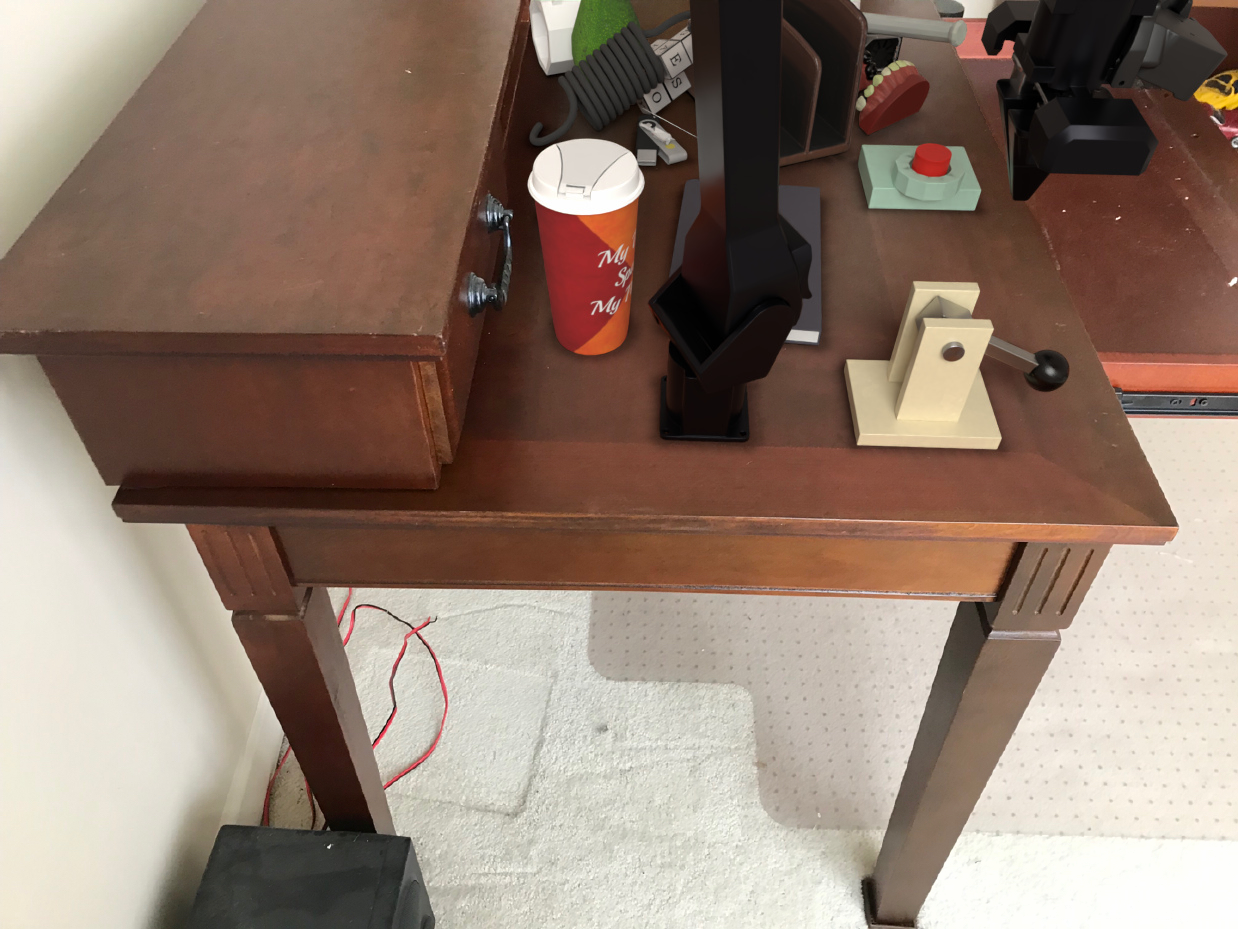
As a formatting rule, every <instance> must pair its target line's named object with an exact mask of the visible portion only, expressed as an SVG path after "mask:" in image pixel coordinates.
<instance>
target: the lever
mask: <svg viewBox="0 0 1238 929" xmlns="http://www.w3.org/2000/svg"><path fill="white" fill-rule="evenodd" d="M923 318H949V319H974V318H973V314H972V315H971V312H970V310H968V309H966V308H964V307H962V306H959V305H957V304H955V303H953V302H951V301H949V300H946V299H944V298H942V297H940V296H937V297H936V298H935V299H934V300H933V301H932V302H931V303H930V304H929V305H928V306H927V307H926V308H925V310H924V311H923V312H922V313H921V314H920V315H919V316H918V317H917V318H916V319H915V322H916V325H917V329H918V333H919V330H920V327H921V324H922V320H923ZM984 355H986V356H988V357H991V358H993V359H995V360H997V361H999V362H1001V363H1004V364H1006V365H1008V366H1010V367H1013V368H1015V369H1017V370H1019V371H1021V372H1022V375H1023V379H1024V381H1025V383H1026V384H1027V385H1028V386H1029V387H1030V388H1031V389H1033V390H1035V391H1037V392H1041V393H1049V392H1054V391H1056V390H1058V389H1060V388H1061V387H1062V386H1064V384H1066V382H1067V380H1068V379H1069V376H1070V372H1071V371H1070V364H1069V361H1068V359H1067V358H1066V356H1064V354H1062V353H1060V352H1059V351H1056V350H1053V349H1041V350H1038V351H1036V352H1034V353H1031V352H1029V351H1027V350H1025V349H1023V348H1021V347H1018V346H1016V345H1015V344H1011V343H1009V342H1008V341H1006V340H1004V339H1001V338H999V337H997V336H994V335H993V334H992V335H991V338H990V340H989V343H988V345H987V348H986V350H985V353H984Z"/></svg>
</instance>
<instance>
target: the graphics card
mask: <svg viewBox="0 0 1238 929" xmlns="http://www.w3.org/2000/svg"><path fill="white" fill-rule="evenodd" d="M867 35H875V36H877V37H878V39H877V38H870V37H867V38H866V44H865V51H868V52H869V53H870V54H871V57H872V59H873V61H872V62H873V63H875V65H876V68H877V72H882V71H883V69H884V68H886V67H888V66H889V65H890V64H891V63H893V62H896V61H898V60H899V58H900V51H901V48H902V43H903V38H904V37H896V36H888V35H879V34H871V33H867Z"/></svg>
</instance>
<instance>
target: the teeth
mask: <svg viewBox="0 0 1238 929" xmlns="http://www.w3.org/2000/svg"><path fill="white" fill-rule="evenodd" d="M872 61H873V59H872V57H871V54H870V53H869V52H868V51H865V50H864V57H863V64H862V73H861V80H860V86H859V91H858V92H861V91H863V95H860V96H859V97H857V102H856V108H855V110H856V111H858V112H859V114H858V126H859V128H860V129H861V130H862V131H863V132H864V133H865V134H866V135H871V134H873V133H876V132H879V131H881V130H883V129H885V128H887V127H889V126H891V125H893V124H895V123H898V122H900V121H902V120H904V119H906V118H908V117H910V116H912V115H914V114H916V113H918V112H919V111H920V110H921V109H922V107H923V105H924V103H925V101H926V99H927V98H928V95H929V93H930V89H931V85H930V84H931V83H930V82H929V81H928V79H927V78H925V76H923V75H922V74H919V70H918V68H917V67H916V65H915V64H914V63H913V62H911V61H909V60H905V59H903V60H901V59H898V61H896V62H895V61H894V62H893V63H891V64H890V65H889V66H888V67H886V68H884V69H883V71H880V74H878V71H877V68H876V65H875V63H873V62H872Z"/></svg>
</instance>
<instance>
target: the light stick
mask: <svg viewBox="0 0 1238 929" xmlns="http://www.w3.org/2000/svg"><path fill="white" fill-rule="evenodd" d="M861 12H862V13H863V14H864V15H865V17H866V19H867V22H868V32H867V33H871V34H879V35H888V36H896V37H903V38H905V39H913V40H921V41H929V42H939V43H944V44H945V43H946V44H949V45H950V46H952V47H954V48H957V47H959V46H961V45H962V44H963V43H964V41H966V37H967V35H968V24H967V23H966V21H964V20H963V19H959V20H956V21H946V20H937V19H936V20H935V19H929V18H928V19H927V18H918V17H910V16H902V15H901V16H900V15H890V14H882V13H874V12H873V13H872V12H863V11H861ZM867 37H870V38H877V39H878V37H877V36H875V35H867Z"/></svg>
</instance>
